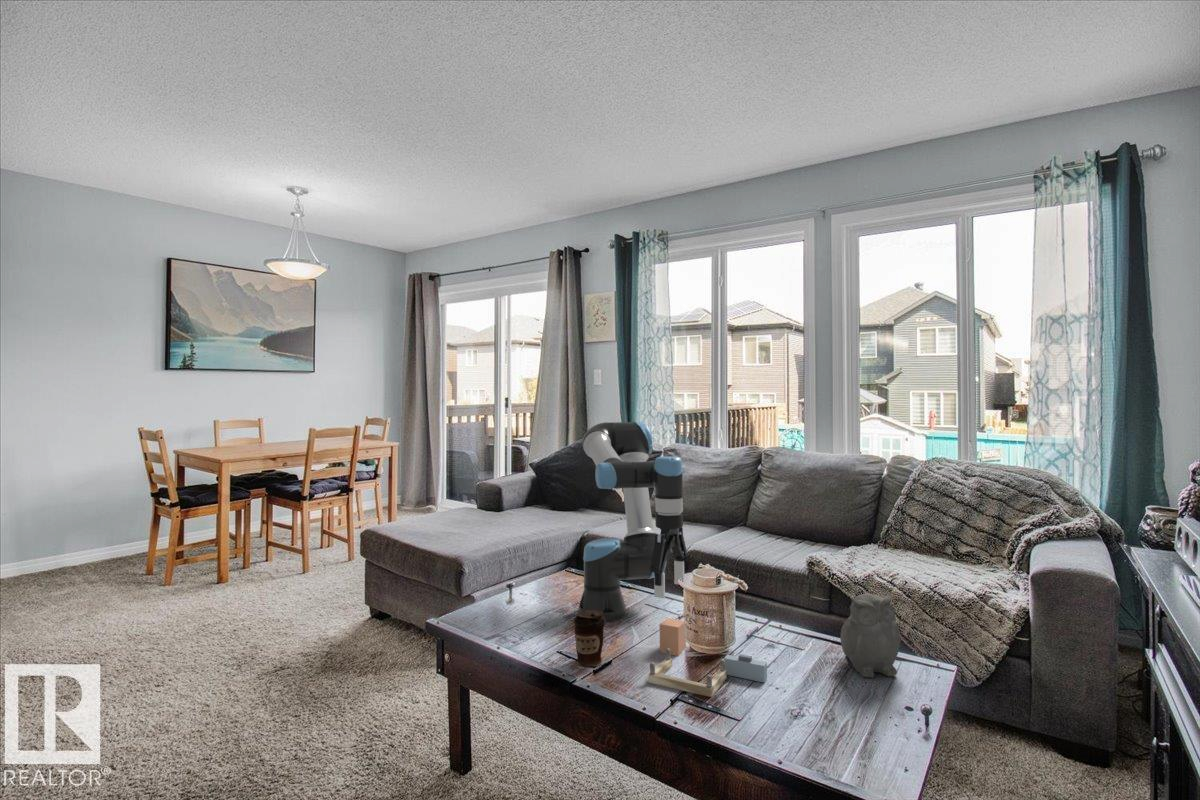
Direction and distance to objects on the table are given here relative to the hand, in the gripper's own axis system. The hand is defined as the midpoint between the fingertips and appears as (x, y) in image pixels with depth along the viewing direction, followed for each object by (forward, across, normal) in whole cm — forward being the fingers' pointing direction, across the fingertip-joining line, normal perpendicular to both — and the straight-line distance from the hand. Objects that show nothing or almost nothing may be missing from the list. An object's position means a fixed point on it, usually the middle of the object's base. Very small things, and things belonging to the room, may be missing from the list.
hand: (669, 590), depth 167 cm
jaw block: (+17, -1, 0) cm, 17 cm away
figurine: (+17, -16, +48) cm, 53 cm away
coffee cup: (+17, +17, -16) cm, 29 cm away
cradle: (+17, +14, +10) cm, 24 cm away
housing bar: (+17, +5, +22) cm, 29 cm away
